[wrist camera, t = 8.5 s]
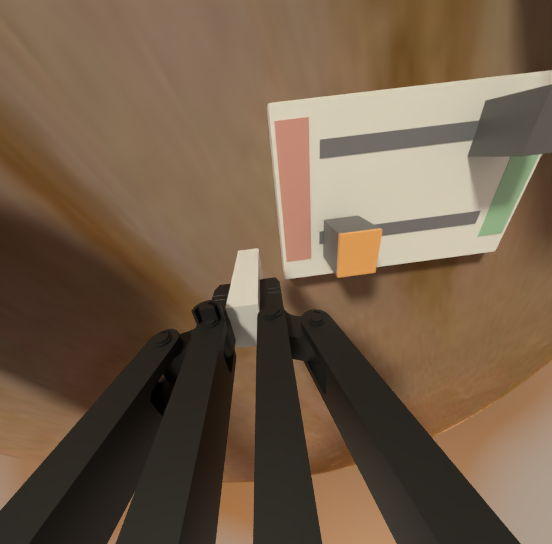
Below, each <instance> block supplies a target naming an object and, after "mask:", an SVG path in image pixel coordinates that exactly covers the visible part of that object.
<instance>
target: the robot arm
mask: <svg viewBox="0 0 552 544" xmlns="http://www.w3.org/2000/svg"><path fill="white" fill-rule="evenodd" d="M192 313H193V316H194V318H195V321H196V323H197V326H196V328H195V329H193V330H191V331H188V332H185V333H183V334H180V335H179V333H178V332H177V330H174V329H168V330H164V331H161V332H159V333H158V334H156V335H155V336H153V337H152V338H151V339H150V340H149V341H148V343H147V344H146V345H145V346H144V347H143V348H142V349H141V351H140V352H139V353H138V354H137V355H136V356H135V357H134V359H133V360H132V361H131V362H130V363H129V364H128V365H127V367H126V368H125V369H124V370H123V371H122V372H121V373H120V375H119V376H118V377H117V378H116V379H115V380H114V381H113V383H112V384H111V385H110V386H109V387H108V388H107V389H106V391H105V392H104V393H103V394H102V395H101V396H100V397H99V399H98V400H97V401H96V402H95V403H94V404H93V405H92V407H91V408H90V409H89V410H88V411H87V412H86V413H85V415H84V416H83V417H82V418H81V419H80V420H79V421H78V423H77V424H76V425H75V426H74V427H73V428H72V429H71V431H70V432H69V433H68V434H67V435H66V436H65V437H64V439H63V440H62V441H61V442H60V443H59V444H58V445H57V447H56V448H55V449H54V450H53V451H52V452H51V453H50V455H49V456H48V457H47V458H46V459H45V460H44V461H43V462H42V464H41V465H40V466H39V467H38V468H37V470H36V471H35V472H34V473H33V474H32V475H31V476H30V477H29V478H28V480H27V481H26V482H25V483H24V484H23V485H22V487H21V488H20V489H19V490H18V491H17V492H16V493H15V495H14V496H13V497H12V498H11V499H10V500H9V501H8V503H7V504H6V505H5V506H4V507H3V508H2V509H1V510H0V544H107V543H108V541H109V539H110V537H111V535H112V533H113V532H114V530H115V528H116V526H117V524H118V522H119V520H120V518H121V517H122V515H123V513H124V511H125V509H126V507H127V505H128V503H129V501H130V499H131V498H132V496H133V494H134V496H133V499H132V501H131V504H130V507H129V509H128V512H127V515H126V518H125V520H124V523H123V525H122V528H121V531H120V534H119V536H118V539H117V542H116V544H215V542H216V533H217V524H218V515H219V506H220V497H221V488H222V480H223V471H224V462H225V453H226V444H227V435H228V426H229V417H230V409H231V400H232V391H233V382H234V373H235V364H236V352H235V349H234V348H235V342H236V345H237V348H242V347H249V346H257V356H256V414H255V472H254V529H253V531H254V532H253V544H322V540H321V534H320V527H319V522H318V515H317V509H316V502H315V496H314V490H313V484H312V478H311V471H310V465H309V459H308V453H307V447H306V440H305V434H304V428H303V422H302V416H301V409H300V403H299V397H298V391H297V385H296V378H295V372H294V366H293V360H292V359H296V360H302V361H304V363H305V365H306V367H307V369H308V371H309V373H310V375H311V377H312V378H313V380H314V382H315V384H316V386H317V388H318V390H319V392H320V394H321V396H322V398H323V400H324V402H325V404H326V406H327V408H328V410H329V412H330V414H331V416H332V418H333V420H334V422H335V424H336V425H337V427H338V429H339V431H340V433H341V435H342V437H343V439H344V441H345V443H346V445H347V447H348V449H349V451H350V453H351V455H352V457H353V459H354V461H355V463H356V465H357V466H358V469H359V470H360V472H361V474H362V476H363V478H364V480H365V482H366V484H367V486H368V488H369V490H370V492H371V494H372V496H373V498H374V500H375V502H376V504H377V506H378V508H379V510H380V511H381V514H382V515H383V517H384V520H385V521H386V523H387V525H388V527H389V529H390V531H391V533H392V535H393V537H394V539H395V541H396V543H397V544H520V543H519V541H518V540H517V539H516V538H515V537H514V535H513V534H512V533H511V532H510V531H509V530H508V528H507V527H506V526H505V525H504V523H503V522H502V521H501V520H500V519H499V517H498V516H497V515H496V514H495V513H494V511H493V510H492V509H491V508H490V507H489V505H487V503H486V502H485V501H484V500H483V498H482V497H481V496H480V495H479V494H478V492H477V491H476V490H475V489H474V488H473V486H472V485H471V484H470V483H469V482H468V480H467V479H466V478H465V477H464V476H463V474H462V473H461V472H460V471H459V470H458V468H457V467H456V466H455V465H454V464H453V462H451V460H450V459H449V458H448V457H447V455H446V454H445V453H444V452H443V451H442V449H441V448H440V447H439V446H438V445H437V444H436V442H435V441H434V440H433V439H432V437H431V436H430V435H429V434H428V433H427V431H426V430H425V429H424V428H423V427H422V425H421V424H420V423H419V422H418V421H417V419H416V418H415V417H414V416H413V415H412V414H411V412H410V411H409V410H408V409H407V408H406V406H405V405H404V404H403V403H402V402H401V400H400V399H399V398H398V397H397V396H396V394H395V393H394V392H393V391H392V390H391V388H390V387H389V386H388V385H387V384H386V382H385V381H384V380H383V379H382V378H381V376H380V375H379V374H378V373H377V372H376V370H375V369H374V368H373V367H372V366H371V365H370V363H369V362H368V361H367V360H366V359H365V357H364V356H363V355H362V354H361V353H360V351H359V350H358V349H357V348H356V347H355V345H354V344H353V343H352V342H351V341H350V339H349V338H348V337H347V336H346V335H345V333H344V332H343V331H342V330H341V329H340V327H339V326H338V325H337V324H336V323H335V322H334V320H333V319H332V318H331V317H330V316H329V315H328V314H327V313H326V312H324V311H321V310H309V311H307V312H305V313H304V314H303V315H302V317H300V316H294V315H291V314H289V313H287V312H286V311H285V310H284V307H283V301H282V295H281V289H280V282H279V281H278V280H277V279H276V278H268V279H263V274H262V268H261V262H260V255H259V249H258V248H257V249H249V250H241V251H238V254H237V259H236V263H235V268H234V272H233V277H232V281H231V284H225V285H219V287H218V288H217V289H216V290H215V291H214V294H213V297H212V300H208V301H204V302H202V303H200V304H198V305H197V306H195V307H194V308H193V310H192ZM162 375H163V378H162V379H161V380H160V381H159V379H160V378H161V376H162ZM158 381H159V382H158ZM134 492H135V493H134Z"/></svg>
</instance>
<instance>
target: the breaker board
mask: <svg viewBox="0 0 552 544" xmlns="http://www.w3.org/2000/svg"><path fill="white" fill-rule="evenodd" d="M267 116H268V126H269V136H270V146H271V156H272V166H273V176H274V186H275V196H276V205H277V215H278V225H279V235H280V245H281V255H282V265H283V272H284V276H285V279H292V278H300V277H307V276H315V275H322V274H330V273H334V272H333V270H332V269H331V267H330V266H329V264H328V263H327V261H326V260H325V258H324V257H323V239H324V220H327V219H334V218H342V217H350V216H360V217H362V218H363V219H365V220H367V221H369V222H370V223H372V224H374V225H376V226H377V227H379V228H381V229H383V230H382V236H381V242H380V248H379V254H378V260H377V266H376V267H382V266H389V265H397V264H404V263H411V262H419V261H426V260H434V259H441V258H449V257H456V256H463V255H471V254H478V253H486V252H493V251H495V250H496V248H497V246H498V244H499V242H500V240H501V238H502V236H503V234H504V232H505V230H506V228H507V226H508V223H509V221H510V219H511V217H512V215H513V213H514V211H515V209H516V207H517V205H518V203H519V201H520V199H521V197H522V195H523V192H524V190H525V188H526V186H527V184H528V182H529V180H530V178H531V176H532V174H533V172H534V170H535V168H536V166H537V164H538V161H539V159H540V157H541V155H542V154H546V153H552V70H549V71H540V72H532V73H523V74H514V75H506V76H497V77H489V78H480V79H472V80H463V81H454V82H446V83H437V84H429V85H420V86H411V87H403V88H394V89H386V90H377V91H369V92H360V93H351V94H343V95H334V96H326V97H317V98H308V99H300V100H291V101H283V102H274V103H268V106H267Z"/></svg>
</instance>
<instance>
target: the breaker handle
mask: <svg viewBox="0 0 552 544" xmlns="http://www.w3.org/2000/svg"><path fill="white" fill-rule="evenodd" d="M382 230H383V229H381V228H379V227H377V226H376V225H374V224H372V223H370V222H369V221H367V220H365V219H363V218H362V217H360V216H350V217H342V218H334V219H327V220H324V239H323V257H324V258H325V260H326V261H327V263H328V264H329V266H330V267H331V269H332V270H333V272H334V273H335V275H336V276H337V278H340V277H347V276H355V275H362V274H370V273H375V272H376V266H377V260H378V254H379V248H380V242H381V236H382Z"/></svg>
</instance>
